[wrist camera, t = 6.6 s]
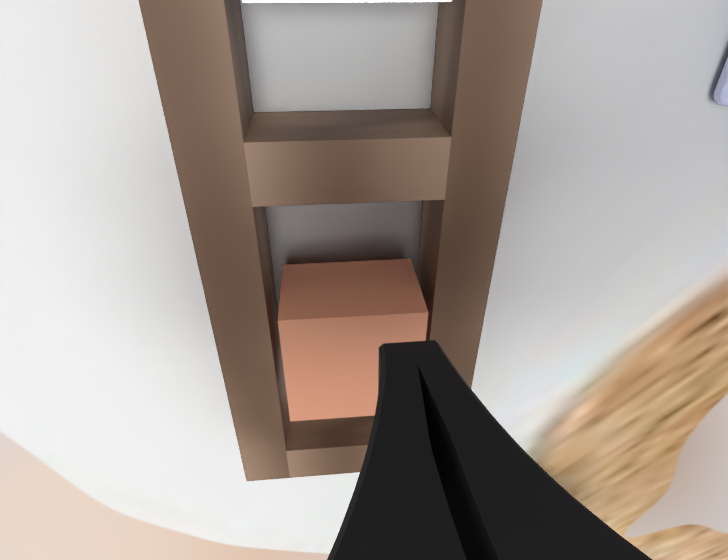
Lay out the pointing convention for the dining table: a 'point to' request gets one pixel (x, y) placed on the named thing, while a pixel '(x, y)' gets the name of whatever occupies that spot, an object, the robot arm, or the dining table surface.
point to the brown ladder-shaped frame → (336, 196)
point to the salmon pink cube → (343, 331)
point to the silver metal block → (297, 0)
